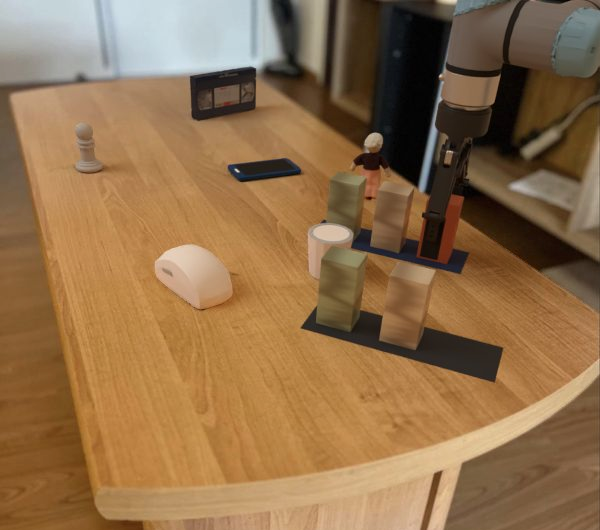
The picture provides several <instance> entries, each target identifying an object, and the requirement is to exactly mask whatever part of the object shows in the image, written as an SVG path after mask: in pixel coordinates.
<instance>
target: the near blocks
mask: <svg viewBox="0 0 600 530" xmlns="http://www.w3.org/2000/svg"><path fill="white" fill-rule="evenodd" d="M368 255H369V254H368V253H366V252H362V251H358V250H354V249H351V250H348V249H344V248H340V247H336V246H331V247H330V248H329V250H328V251H327V252H326V253H325V255H324V256H323V257H322V258H321V267H320V279H318V294H317V304H316V306H317V316H316V323H318V324H321V325H325V326H328V327H332V328H336V329H339V330H343V331H347V332H351V331H352V329H353V327H354V326H355V324H356V322H357V321H358V319H359V317H360V310H362V309H361V307H362V301H363V292H364V285H365V277H366V272H367V264H368ZM436 273H437V270H436V269H434V268H430V267H426V266H421V265H417V264H413V263H409V262H404V261H400V260H398V261H397V262H396V264H395V265H394V267H393V268H392V270H391V272H390V273H389V275H388V282H387V287H386V293H385V300H384V307H383V313H382V316H383V319H382V325H381V331H380V338H379V341H383V342H386V343H390V344H394V345H397V346H401V347H405V348H408V349H412V350H416V349H417V346H418V344H419V342H420V340H421V337H422V335H423V331H424V327H426V321H427V316H428V310H429V307H430V302H431V297H432V294H433V293H432V292H433V288H434V283H435V278H436Z"/></svg>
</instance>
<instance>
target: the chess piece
mask: <svg viewBox="0 0 600 530" xmlns="http://www.w3.org/2000/svg"><path fill="white" fill-rule="evenodd" d="M74 133H75V136H76V138H77V139H76V143H77V145H76V146H77V148H78V149H79V154H80V159H79V160H78V161H77V162H76V163H75V170H77V171H78V172H81V173H86V174H89V173H97V172H100V171H101V170H103V168H104V163H103V162H102V161H101V160H99V159H97V158H96V153H95V147H96V144H95V139H94V138H93V136H94V130H93V128H92V126H91V125H90V124H89V123H88V122H79V123H77V124H76V125H75V128H74Z"/></svg>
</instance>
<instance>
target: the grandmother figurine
mask: <svg viewBox="0 0 600 530" xmlns="http://www.w3.org/2000/svg"><path fill="white" fill-rule="evenodd" d="M383 144H384V137H383V135H382V134H381V133H379V132H372V133H369V135H367V136H366V138H365V140H364V144H363V145H364V146H365V147H366V149H367V151H368V152H362V153H360V154H359V155H357V156H356V157H355V158H354V159H353V160H352V163H351V166H350V167H349V171H351V172H355V170H356V168H357V167H359V166H362V168H361V172H360V176H363V177H367V180H366V189H365V197H364V201H367V200H368V199H369V198H370V201H371V202H375V203H376V199H377V191H378V189H379V187H380V186H381V179H382V178H381V177H382V172H381V168H382V169H383V171H384V173H385V177H386V178H390V177H391V176H392V173H391V168H390V164H389V162H388V161H387V159H386V157H385V156H384V155H383V154H380V153H378V152H380V151H381V148H382V147H383Z"/></svg>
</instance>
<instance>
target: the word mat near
mask: <svg viewBox="0 0 600 530" xmlns="http://www.w3.org/2000/svg"><path fill="white" fill-rule="evenodd" d="M316 316H317V305H316V306H315V307H314V308H313V310H312V311H311V312H310V314H309V315H308V316H307V318H306V319H305V321H303V323H302V325H301V326H300V330H304V331H308V332H312V333H316V334H319V335H322V336H326V337H329V338H332V339H337V340H341V341H344V342H347V343H351V344H355V345H358V346H361V347H365V348H369V349H373V350H376V351H379V352H383V353H387V354H390V355H394V356H398V357H402V358H405V359H409V360H412V361H415V362H419V363H423V364H426V365H430V366H434V367H437V368H440V369H444V370H448V371H451V372H455V373H458V374H462V375H465V376H466V375H467V376H469V377H473V378H477V379H481V380H484V381H487V382H492V383H493V384H495V383H496V379H497V375H498V371H499V367H500V364H501V363H500V362H501V359H502V355H503V351H504V347H503V346H499V345H495V344H491V343H488V342H484V341H480V340H476V339H472V338H468V337H466V336H461V335H458V334H454V333H450V332H445V331H441V330H438V329H435V328H431V327H427V326H424V331H423V335H422V337H421V340H420V342H419V344H418V346H417V349H416V350H412V349H408V348H405V347H401V346H397V345H394V344H390V343H386V342H383V341H379V338H380V331H381V325H382V319H383V314H382V315H381V314H378V313H375V312H370V311H366V310H362V309H360V317H359V319H358V321H357V322H356V324H355V326H354V327H353V329H352V331H351V332H347V331H343V330H339V329H336V328H332V327H328V326H325V325H321V324H318V323H316Z"/></svg>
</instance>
